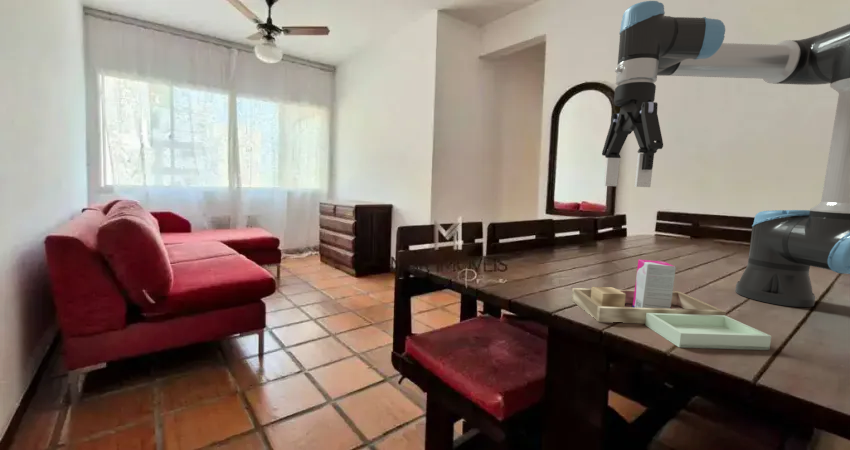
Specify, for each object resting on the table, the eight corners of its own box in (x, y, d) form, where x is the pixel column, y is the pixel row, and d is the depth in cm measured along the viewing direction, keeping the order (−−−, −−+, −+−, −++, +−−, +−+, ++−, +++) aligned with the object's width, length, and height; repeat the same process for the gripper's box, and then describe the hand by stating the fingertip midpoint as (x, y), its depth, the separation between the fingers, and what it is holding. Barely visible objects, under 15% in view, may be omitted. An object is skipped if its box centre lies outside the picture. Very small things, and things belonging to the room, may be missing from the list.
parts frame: (677, 303, 90) (679, 291, 90) (724, 325, 76) (726, 311, 76) (571, 300, 90) (572, 288, 89) (598, 322, 76) (599, 307, 75)
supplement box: (670, 318, 79) (676, 266, 78) (640, 315, 81) (646, 264, 79) (659, 309, 85) (665, 260, 84) (631, 306, 86) (636, 258, 85)
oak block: (611, 308, 85) (613, 287, 84) (623, 316, 80) (625, 294, 79) (589, 308, 85) (591, 286, 84) (600, 316, 80) (603, 293, 79)
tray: (723, 327, 75) (725, 315, 75) (769, 350, 65) (771, 335, 65) (645, 325, 75) (646, 312, 74) (679, 347, 65) (680, 333, 65)
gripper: (592, 97, 90) (584, 185, 93) (651, 66, 65) (638, 186, 68) (623, 98, 90) (615, 186, 92) (694, 67, 65) (680, 188, 68)
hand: (625, 186), depth 80 cm, fingers open, 13 cm apart
